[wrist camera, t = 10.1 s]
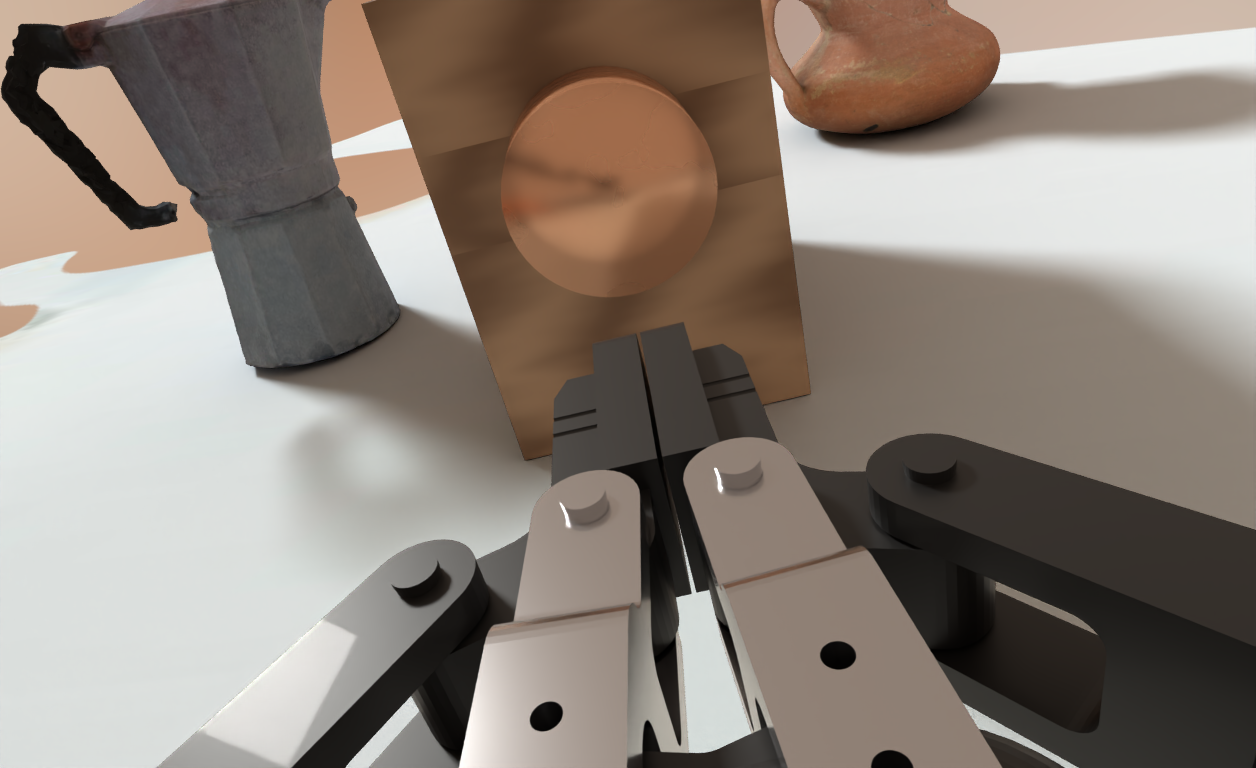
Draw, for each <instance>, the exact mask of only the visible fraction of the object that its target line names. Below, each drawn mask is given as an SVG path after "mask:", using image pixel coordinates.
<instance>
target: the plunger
mask: <svg viewBox="0 0 1256 768" xmlns="http://www.w3.org/2000/svg"><path fill="white" fill-rule="evenodd" d="M717 189H718V184H717V174H716V168H715V164H714V160H713V156H712V154H711V151H710V148H709V146H708V143H707V142H706V140H705V138H704V136H703V134H702V133H701V131H700V130H699V128H698V127H697V125H696V124H695V123H694V121H693V120H692V119H691V117H690V116H689V115H688V113H687V112H686V110H685V109H684V108H683V106H682V105H681V104H680V102H679V101H678V100H677V99H676V98H675V97H674V96H673V95H672V94H671V93H670V92H669V90H667V89H666V88H665V87H663V86H662V85H661V84H660V83H658V82H657V81H655V80H653V79H652V78H650V77H648V76H646V75H644V74H641V73H639V72H636V71H634V70H630V69H626V68H622V67H614V66H593V67H587V68H582V69H578V70H575V71H572V72H569V73H566V74H564V75H562V76H560V77H558V78H556V79H555V80H553V81H552V82H550V83H549V84H547V85H546V86H544V87H543V88H542V89H541V90H540V91H539V92H538V93H536V94H535V95H534V96H533V98H532V99H531V100H530V101H529V102H528V104H527V105H526V106H525V108H524V109H523V111H522V112H521V114H520V115H519V117H518V119H517V121H516V124H515V126H514V128H513V131H512V134H511V137H510V141H509V145H508V149H507V154H506V158H505V162H504V167H503V173H502V179H501V202H502V210H503V214H504V218H505V223H506V225H507V228H508V230H509V233H510V236H511V237H512V239H513V241H514V243H515V245H516V247H517V248H518V250H519V251H520V252H521V254H522V255H523V256H524V258H525V259H526V260H527V261H528V262H529V263H530V264H531V265H532V267H533V268H534V269H536V270H537V271H538V272H539V273H540V274H542V275H543V276H544V277H545V278H547V279H549V280H550V281H552V282H554V283H555V284H557V285H559V286H561V287H563V288H565V289H568V290H570V291H573V292H577V293H580V294H584V295H589V296H595V297H621V296H627V295H632V294H636V293H639V292H643V291H646V290H648V289H651V288H653V287H655V286H657V285H659V284H661V283H663V282H664V281H666V280H668V279H669V278H671V277H672V276H673V275H675V274H676V273H677V272H679V271H680V270H681V269H682V268H683V267H684V266H685V265H686V264H687V263H688V262H689V261H690V260H691V259H692V258H693V256H694V255H695V254H696V252H697V251H698V250H699V248H700V247H701V245H702V243H703V242H704V240H705V238H706V236H707V234H708V232H709V229H710V227H711V224H712V221H713V218H714V214H715V209H716V203H717Z"/></svg>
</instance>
